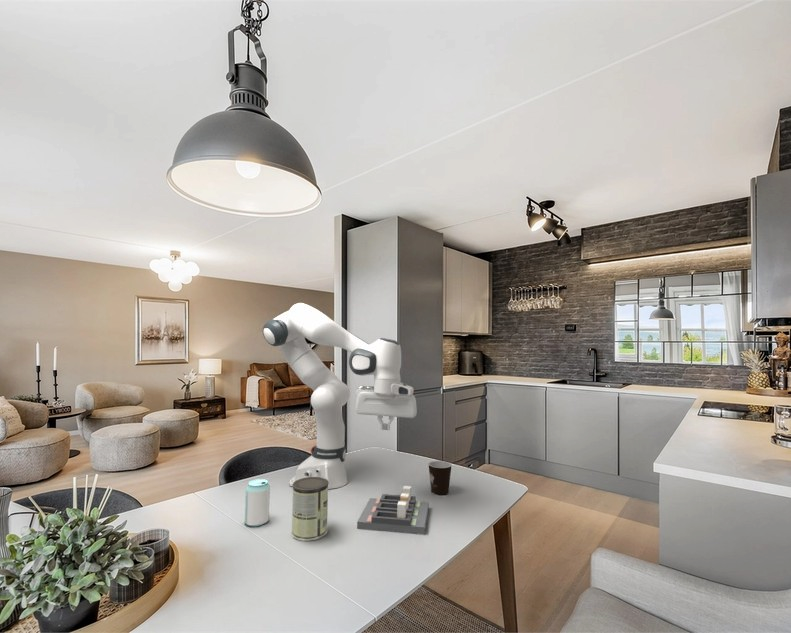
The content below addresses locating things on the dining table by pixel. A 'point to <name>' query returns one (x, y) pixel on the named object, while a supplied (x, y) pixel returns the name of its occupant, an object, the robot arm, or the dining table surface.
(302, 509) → the coffee can
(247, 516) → the can
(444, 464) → the coffee mug
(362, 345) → the robot arm
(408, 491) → the block
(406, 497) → the block
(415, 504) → the panel
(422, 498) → the dining table surface
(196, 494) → the dining table surface
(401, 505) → the breaker near
